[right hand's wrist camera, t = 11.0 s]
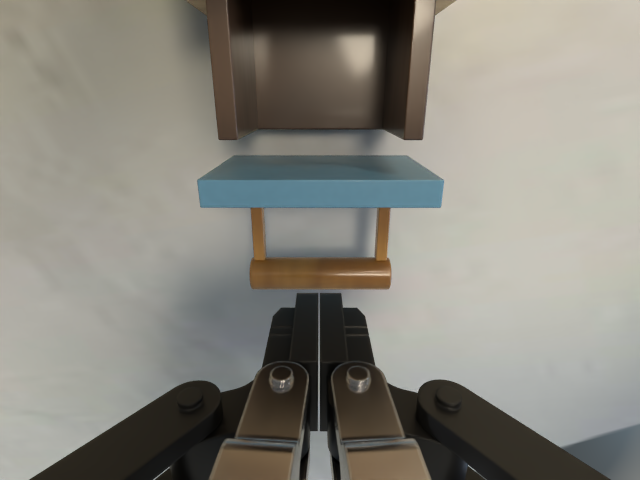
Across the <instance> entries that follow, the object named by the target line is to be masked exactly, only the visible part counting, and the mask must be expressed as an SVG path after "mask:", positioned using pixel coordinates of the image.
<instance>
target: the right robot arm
mask: <svg viewBox="0 0 640 480" xmlns="http://www.w3.org/2000/svg"><path fill="white" fill-rule="evenodd" d="M310 431H318V293H297V297H296V305H295V308H280V309H279V311H278V312H277V313H276V314H275V315H274V316H273V319H272V324H271V328H270V333H269V337H268V342H267V347H266V351H265V356H264V361H263V365H262V368H261V369H260V370H259V371H258V372H257V374H256V376H255V378H254V380H253V381H251V382H250V383H249V384H247V385H245V386H243V387H240V388H237V389H234V390H229V391H225V392H221V393H220V390H219V388H218V387H217V386H216V385H215V384H213V383H211V382H208V381H199V380H198V381H191V382H187V383H183V384H181V385H179V386H177V387H175V388H173V389H172V390H170V391H169V392H167V393H165V394H164V395H162V396H161V397H159V398H158V399H156V400H154V401H153V402H151V403H150V404H148V405H147V406H145V407H143V408H142V409H140V410H139V411H137V412H135V413H134V414H132V415H131V416H129V417H128V418H126V419H124V420H123V421H121V422H120V423H118V424H116V425H115V426H113V427H112V428H110V429H109V430H107V431H105V432H104V433H102V434H101V435H99V436H98V437H96V438H94V439H93V440H91V441H90V442H88V443H86V444H85V445H83V446H82V447H80V448H79V449H77V450H75V451H74V452H72V453H71V454H69V455H67V456H66V457H64V458H63V459H61V460H60V461H58V462H56V463H55V464H53V465H52V466H50V467H49V468H47V469H45V470H44V471H42V472H41V473H39V474H37V475H36V476H34V477H33V478H31V479H30V480H153V479H154V478H156V477H157V476H158V475H159V474H161V473H162V472H163V471H164V470H166V469H167V468H168V467H169V466H170V468H169V469H168V470H166V471H165V472H164V473H163V474H161V475H160V476H159V477H158V478H156V479H155V480H308V473H309V464H310ZM320 431H327V436H328V448H329V451H330V464H331V473H332V480H485V479H483V478H482V477H481V476H480V475H479V474H477V473H476V472H475V471H474V470H476V471H477V472H478V473H480V474H481V475H482V476H483V477H485V478H486V479H487V480H610V479H609V478H607V477H606V476H604V475H602V474H601V473H599V472H598V471H596V470H595V469H593V468H591V467H590V466H588V465H587V464H585V463H584V462H582V461H580V460H579V459H577V458H576V457H574V456H573V455H571V454H569V453H568V452H566V451H565V450H563V449H561V448H560V447H558V446H557V445H555V444H554V443H552V442H550V441H549V440H547V439H546V438H544V437H542V436H541V435H539V434H538V433H536V432H535V431H533V430H531V429H530V428H528V427H527V426H525V425H524V424H522V423H520V422H519V421H517V420H516V419H514V418H512V417H511V416H509V415H508V414H506V413H505V412H503V411H501V410H500V409H498V408H497V407H495V406H493V405H492V404H490V403H489V402H487V401H486V400H484V399H482V398H481V397H479V396H478V395H476V394H475V393H473V392H471V391H470V390H468V389H467V388H465V387H463V386H462V385H460V384H457V383H455V382H452V381H447V380H432V381H428V382H426V383H424V384H423V385H422V386H421V387H420V389H419V391H418V393H415V392H411V391H407V390H403V389H400V388H397V387H395V386H392V385H391V384H389V383H387V381H386V378H385V376H384V374H383V372H382V371H381V370H380V369H379V368H377V367H376V366H375V362H374V357H373V353H372V348H371V343H370V338H369V333H368V328H367V324H366V319H365V316H364V315H363V314H362V313H361V312H360V310H359V309H358V308H343V305H342V296H341V293H320ZM468 465H469V466H471V467H472V468H473V469H474V470H472V469H471V468H470V467H469V466H468Z"/></svg>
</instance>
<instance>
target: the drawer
mask: <svg viewBox="0 0 640 480" xmlns="http://www.w3.org/2000/svg"><path fill="white" fill-rule="evenodd" d="M205 1H206V11H207V22H208V33H209V43H210V54H211V65H212V75H213V86H214V97H215V107H216V118H217V129H218V139H219V140H238V139H240V138H242V137H244V136H246V135H248V134H250V133H252V132H254V131H256V130H258V129H384V130H386V131H388V132H390V133H392V134H393V135H395V136H397V137H399V138H401V139H403V140H423V134H424V123H425V113H426V102H427V92H428V81H429V71H430V61H431V50H432V40H433V29H434V19H435V9H436V0H205ZM197 182H198V191H199V199H200V207H202V208H251V219H252V234H253V248H254V258H252V260H251V264H250V285H251V288H252V289H389V288H390V285H391V264H390V260H389V258H387V249H388V235H389V221H390V208H440V207H441V202H442V194H443V186H444V180H443V179H441V178H440V177H438V176H437V175H435V174H434V173H432V172H431V171H429V170H428V169H426V168H425V167H423V166H422V165H420V164H419V163H417V162H416V161H414V160H413V159H411V158H410V157H408V156H246V155H234V156H232V157H231V158H229V159H228V160H226V161H225V162H224V163H222V164H221V165H219V166H218V167H216V168H215V169H213V170H212V171H210V172H209V173H207V174H206V175H204V176H203V177H201V178H200V179H198V180H197ZM264 208H377V222H376V239H375V257H266V240H265V221H264Z"/></svg>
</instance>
